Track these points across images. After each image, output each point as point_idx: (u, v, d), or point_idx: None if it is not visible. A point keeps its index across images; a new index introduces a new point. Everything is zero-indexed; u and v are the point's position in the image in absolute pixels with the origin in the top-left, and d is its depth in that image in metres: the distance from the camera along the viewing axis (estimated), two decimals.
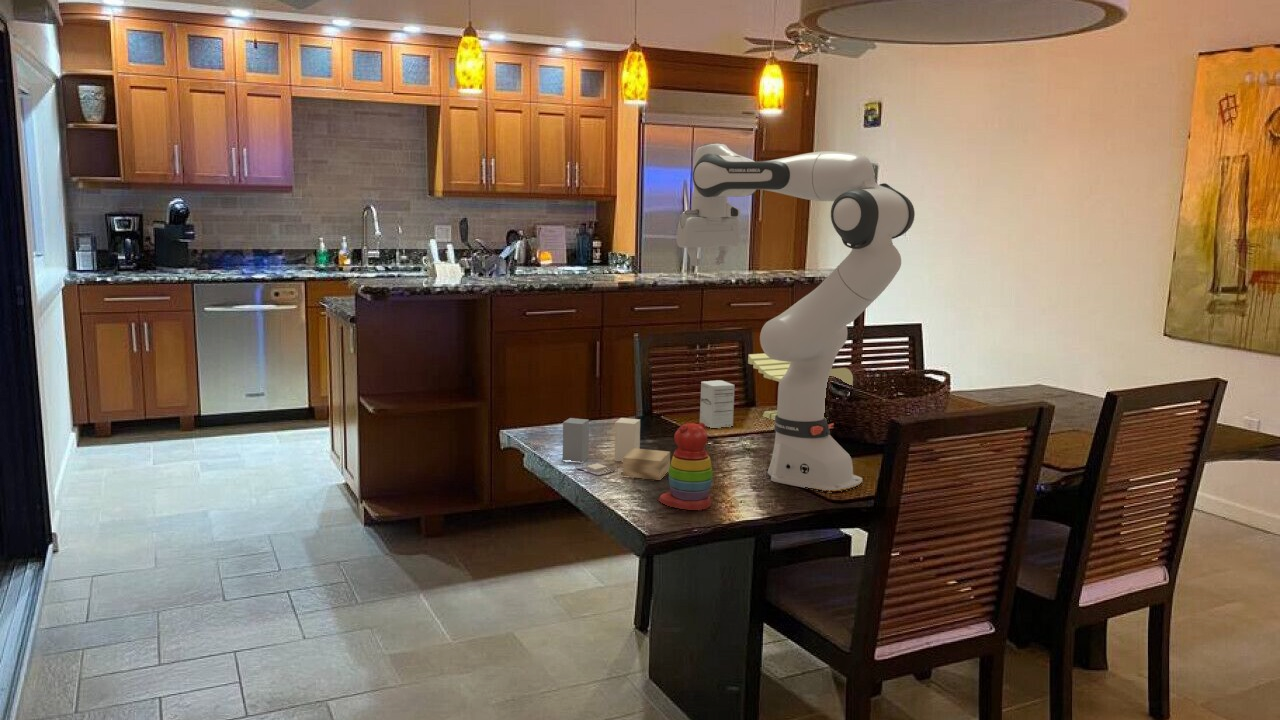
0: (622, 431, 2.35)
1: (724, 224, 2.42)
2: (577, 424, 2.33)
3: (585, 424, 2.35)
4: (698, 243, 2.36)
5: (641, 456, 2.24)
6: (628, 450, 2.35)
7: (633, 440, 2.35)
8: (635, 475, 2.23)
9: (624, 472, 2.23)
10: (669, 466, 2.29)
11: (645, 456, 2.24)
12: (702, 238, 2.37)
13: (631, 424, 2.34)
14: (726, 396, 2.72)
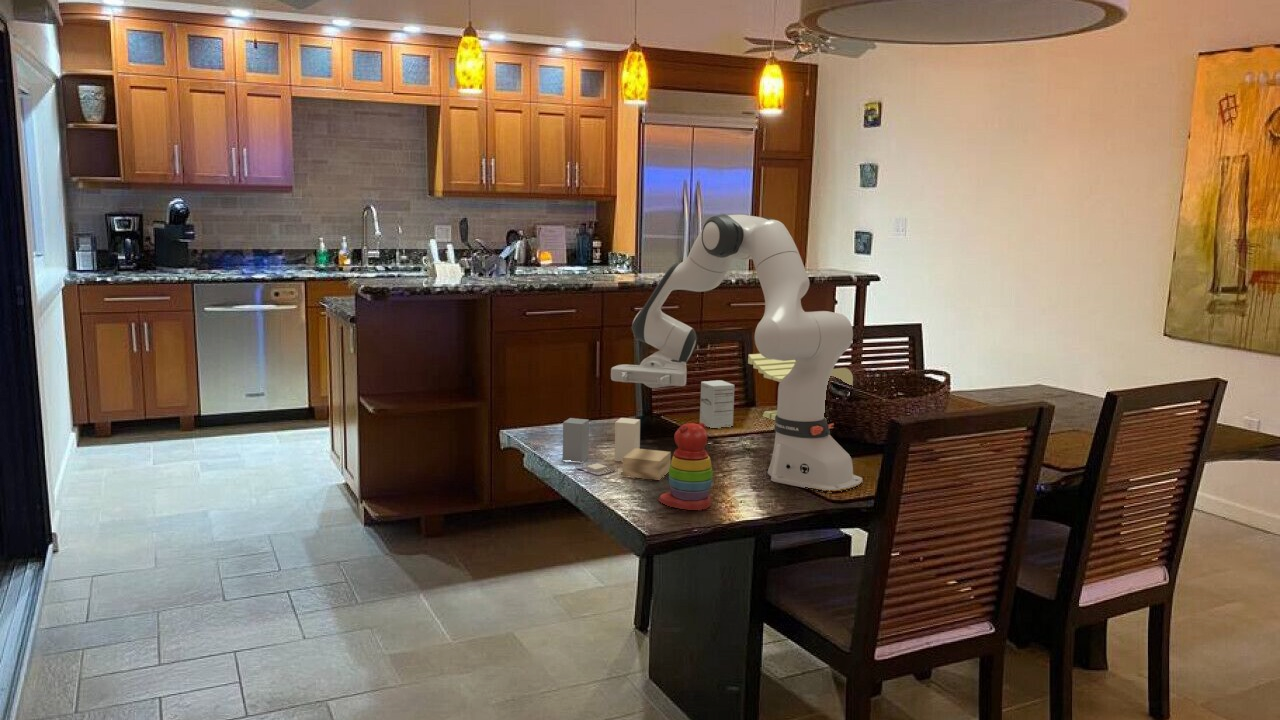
0: (622, 431, 2.35)
1: (666, 368, 2.56)
2: (577, 424, 2.33)
3: (585, 424, 2.35)
4: (626, 368, 2.54)
5: (641, 456, 2.24)
6: (628, 450, 2.35)
7: (633, 440, 2.35)
8: (634, 475, 2.23)
9: (624, 472, 2.23)
10: (669, 466, 2.29)
11: (644, 456, 2.24)
12: (633, 368, 2.54)
13: (631, 424, 2.34)
14: (726, 396, 2.72)
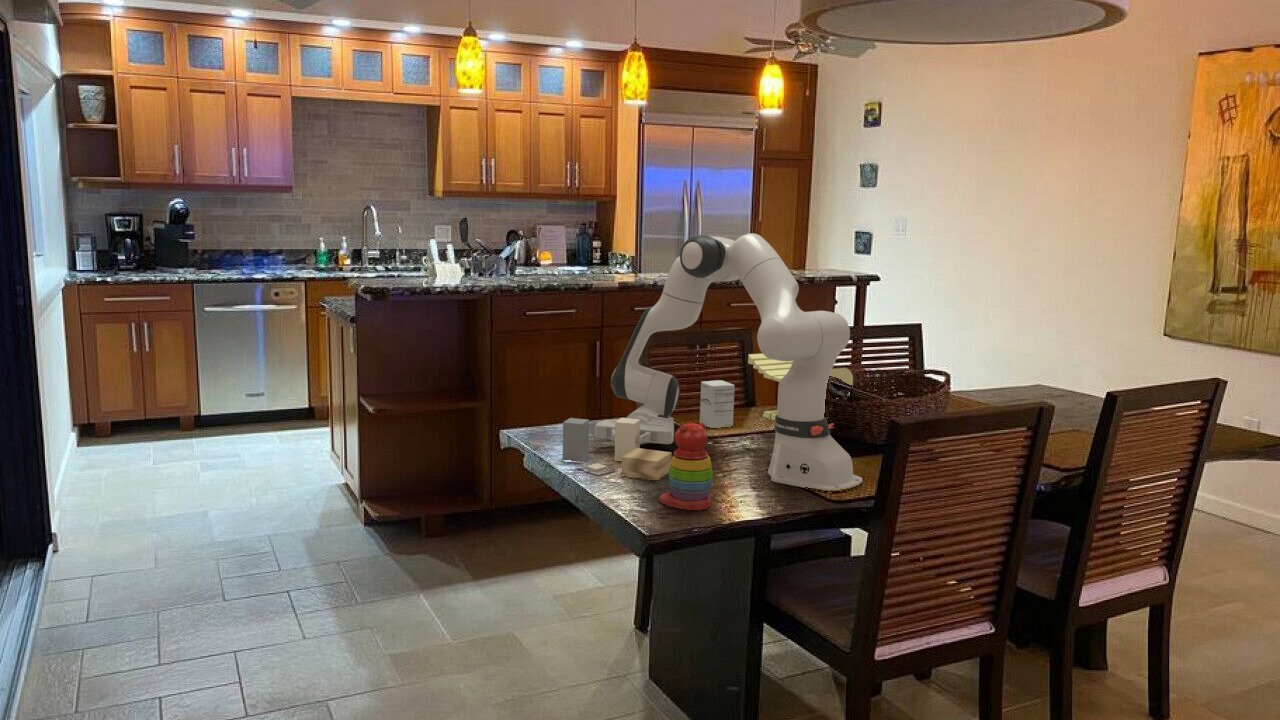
0: (622, 431, 2.35)
1: (652, 424, 2.45)
2: (577, 424, 2.33)
3: (585, 424, 2.35)
4: (611, 425, 2.43)
5: (640, 456, 2.24)
6: (628, 450, 2.35)
7: (633, 440, 2.35)
8: (633, 475, 2.23)
9: (623, 471, 2.24)
10: None
11: (644, 456, 2.24)
12: None
13: (631, 424, 2.34)
14: (726, 396, 2.72)
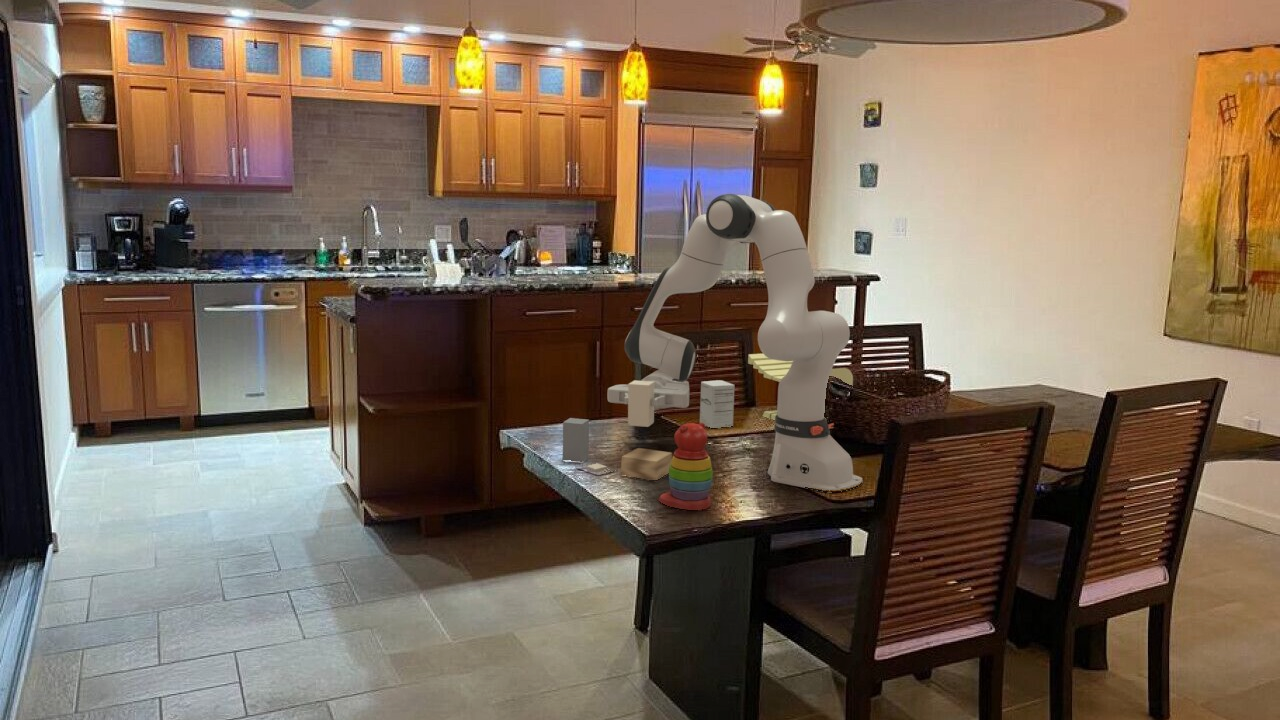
0: (636, 393, 2.26)
1: (667, 387, 2.36)
2: (577, 424, 2.33)
3: (585, 424, 2.35)
4: (624, 388, 2.34)
5: (640, 456, 2.24)
6: (642, 413, 2.26)
7: (647, 402, 2.25)
8: (633, 474, 2.23)
9: (622, 471, 2.24)
10: None
11: (643, 456, 2.24)
12: None
13: (645, 386, 2.25)
14: (726, 396, 2.72)
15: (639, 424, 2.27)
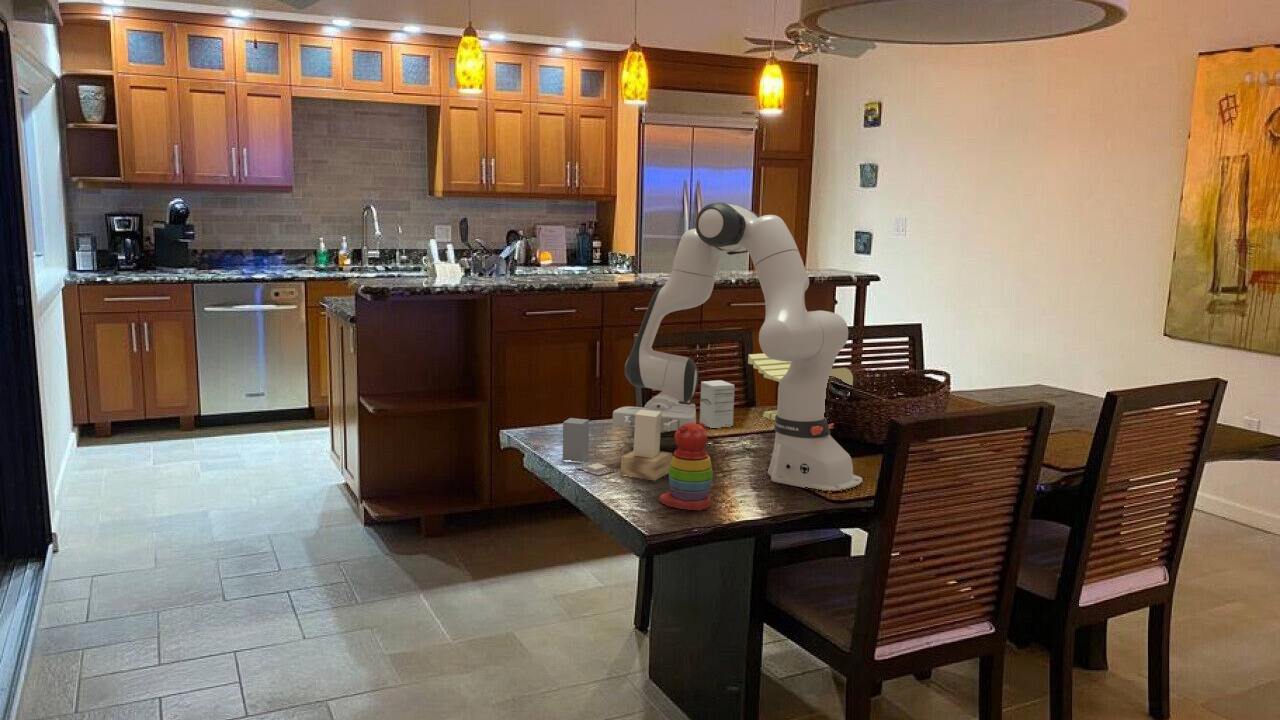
0: (642, 424, 2.22)
1: (673, 410, 2.32)
2: (577, 424, 2.33)
3: (585, 424, 2.35)
4: (630, 411, 2.30)
5: None
6: (648, 444, 2.23)
7: (654, 434, 2.22)
8: (632, 474, 2.23)
9: (622, 471, 2.24)
10: None
11: None
12: (637, 411, 2.31)
13: (652, 417, 2.21)
14: (726, 396, 2.72)
15: (644, 455, 2.23)
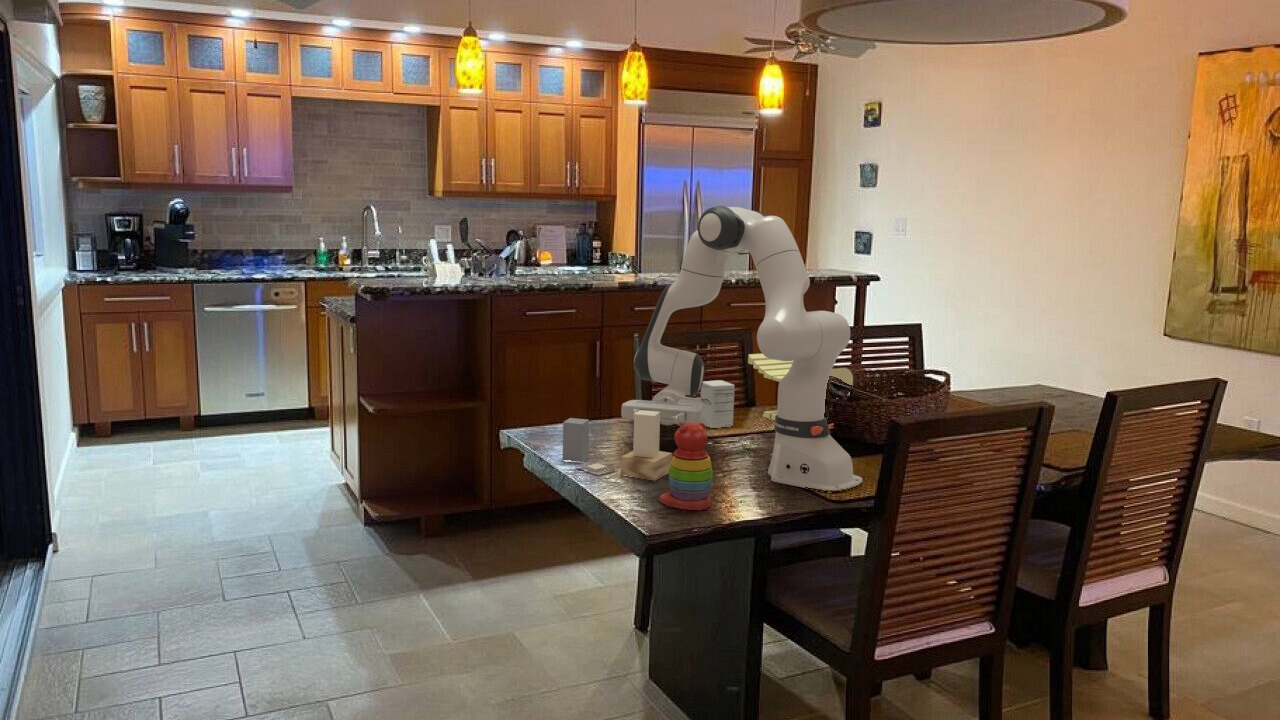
0: (641, 424, 2.23)
1: (680, 404, 2.40)
2: (577, 424, 2.33)
3: (585, 424, 2.35)
4: (638, 404, 2.38)
5: None
6: (648, 444, 2.23)
7: (653, 433, 2.22)
8: (632, 474, 2.23)
9: (622, 471, 2.24)
10: None
11: None
12: (645, 404, 2.38)
13: (651, 416, 2.22)
14: (726, 396, 2.72)
15: (644, 455, 2.23)
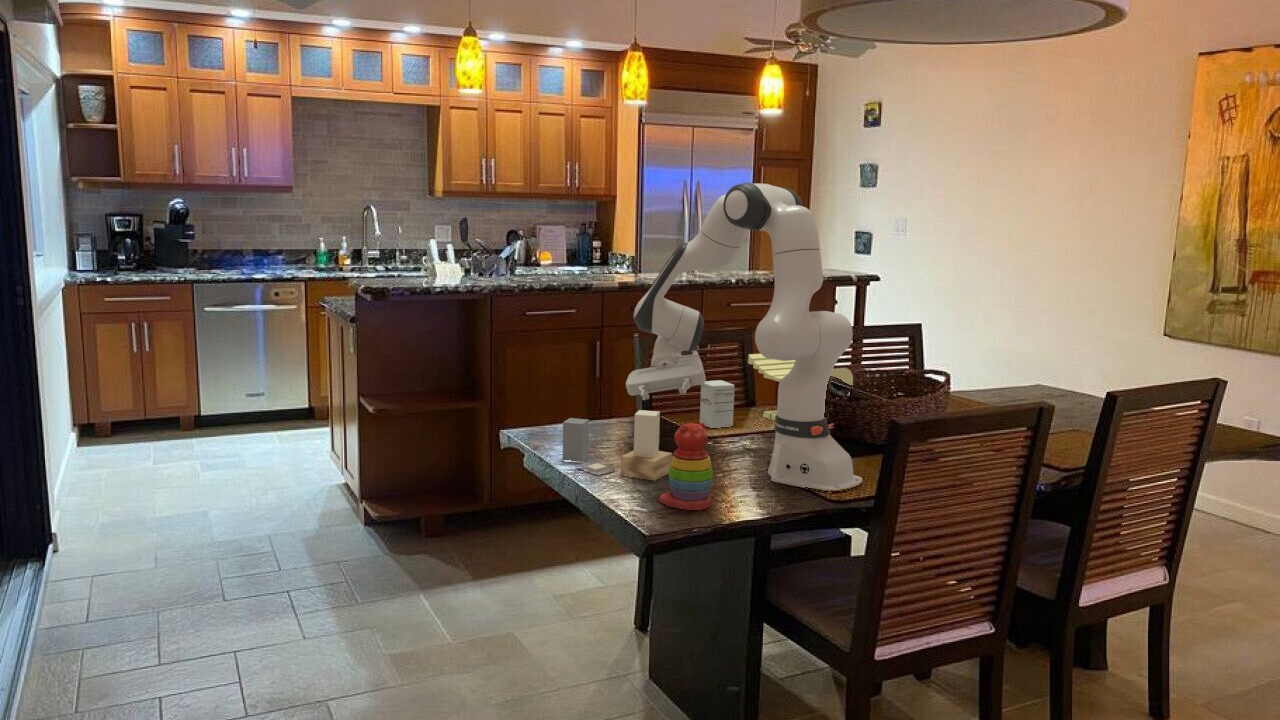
0: (642, 424, 2.22)
1: (680, 365, 2.43)
2: (577, 424, 2.33)
3: (585, 424, 2.35)
4: (641, 380, 2.41)
5: None
6: (648, 444, 2.23)
7: (654, 433, 2.22)
8: (632, 474, 2.23)
9: (622, 471, 2.24)
10: None
11: None
12: (647, 377, 2.42)
13: (652, 416, 2.22)
14: (726, 396, 2.72)
15: (645, 455, 2.23)
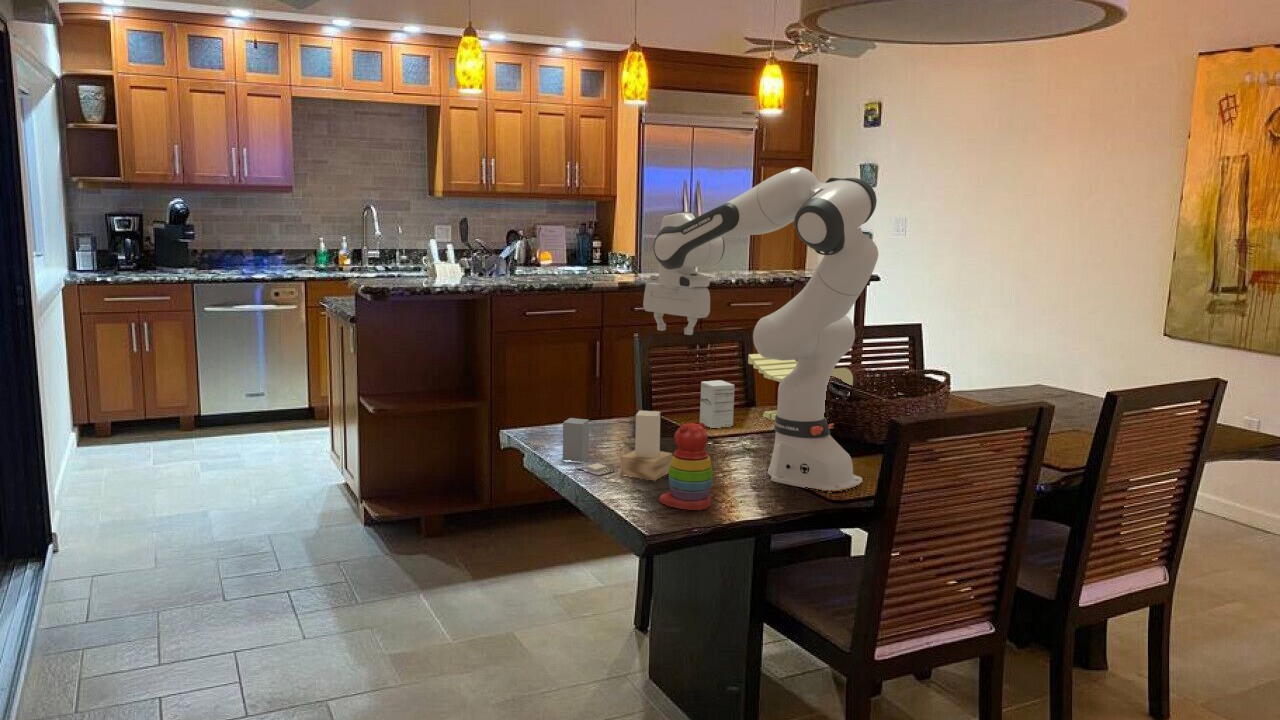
0: (643, 425, 2.22)
1: (682, 293, 2.36)
2: (577, 424, 2.33)
3: (585, 424, 2.35)
4: (654, 308, 2.43)
5: None
6: (650, 444, 2.23)
7: (656, 433, 2.22)
8: (632, 474, 2.23)
9: (622, 471, 2.24)
10: None
11: None
12: (658, 304, 2.42)
13: (653, 417, 2.22)
14: (726, 396, 2.72)
15: (647, 455, 2.23)
